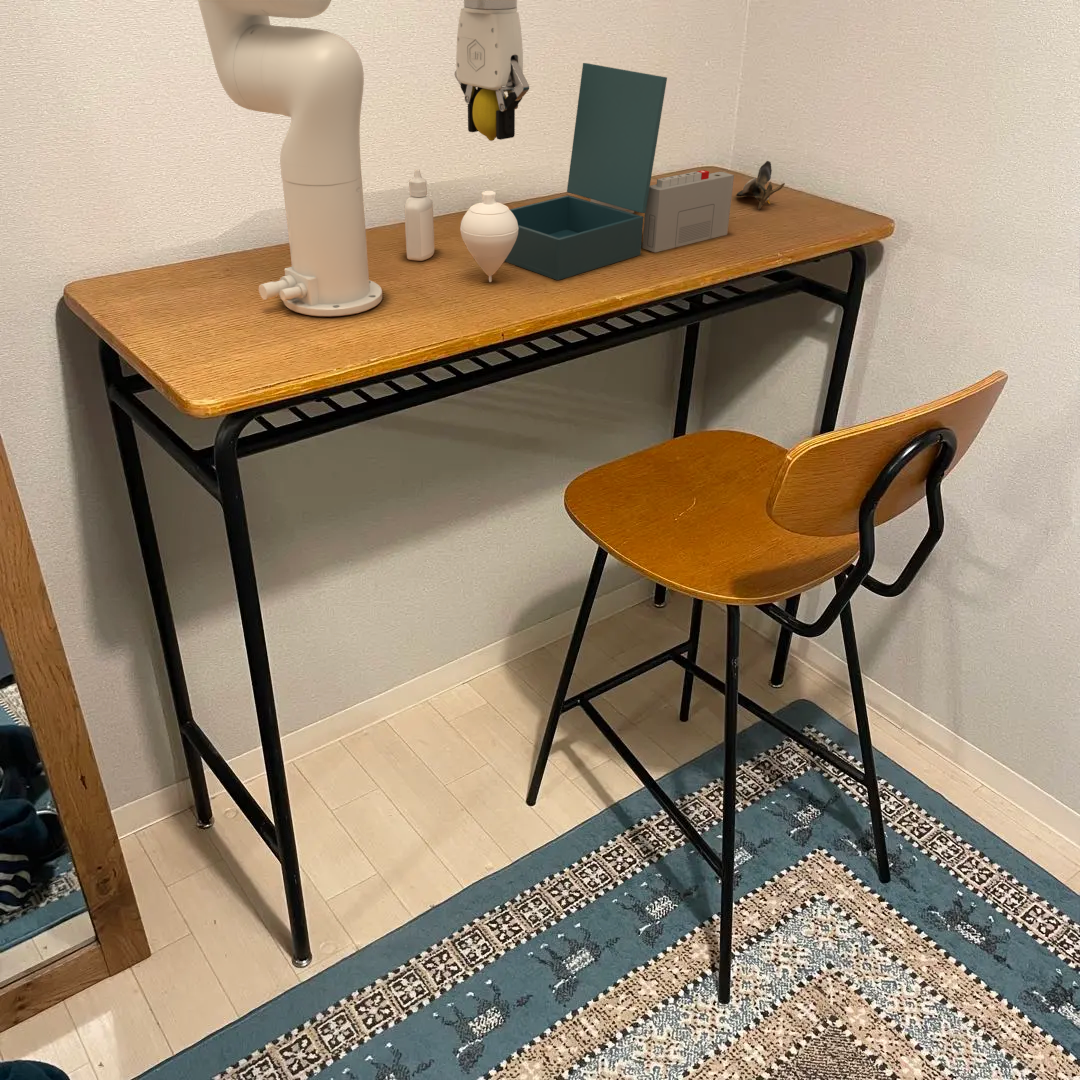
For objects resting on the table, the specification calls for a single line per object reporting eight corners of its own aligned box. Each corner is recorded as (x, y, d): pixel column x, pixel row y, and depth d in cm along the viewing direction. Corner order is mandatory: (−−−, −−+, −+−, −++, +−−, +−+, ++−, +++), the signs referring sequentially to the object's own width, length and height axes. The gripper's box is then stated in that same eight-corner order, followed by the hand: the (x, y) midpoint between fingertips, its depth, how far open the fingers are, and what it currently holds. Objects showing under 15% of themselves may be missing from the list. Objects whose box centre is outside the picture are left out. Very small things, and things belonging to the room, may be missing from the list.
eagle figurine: (793, 203, 174) (779, 179, 181) (778, 168, 170) (763, 145, 176) (752, 226, 176) (739, 202, 183) (735, 193, 172) (723, 169, 178)
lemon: (493, 146, 154) (493, 88, 150) (465, 141, 157) (464, 83, 152) (517, 140, 158) (517, 83, 153) (488, 135, 160) (488, 79, 156)
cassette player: (714, 230, 164) (721, 164, 159) (727, 234, 162) (735, 168, 157) (642, 247, 156) (647, 179, 150) (654, 252, 154) (660, 183, 149)
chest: (557, 280, 143) (559, 239, 140) (484, 254, 152) (483, 215, 149) (640, 254, 153) (643, 216, 150) (567, 231, 162) (568, 194, 159)
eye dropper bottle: (445, 255, 151) (443, 169, 144) (415, 263, 148) (411, 176, 141) (426, 248, 154) (423, 163, 147) (396, 256, 150) (391, 170, 144)
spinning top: (508, 294, 138) (507, 202, 131) (453, 288, 140) (450, 196, 133) (525, 276, 144) (525, 187, 137) (473, 270, 146) (471, 182, 139)
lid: (663, 77, 141) (667, 77, 142) (582, 62, 150) (586, 63, 151) (642, 213, 149) (645, 213, 150) (566, 192, 158) (570, 191, 159)
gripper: (431, -5, 150) (435, 128, 160) (512, 7, 140) (511, 148, 149) (470, -8, 154) (472, 122, 164) (552, 3, 144) (549, 140, 154)
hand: (491, 133), depth 157 cm, fingers closed on lemon, 5 cm apart
